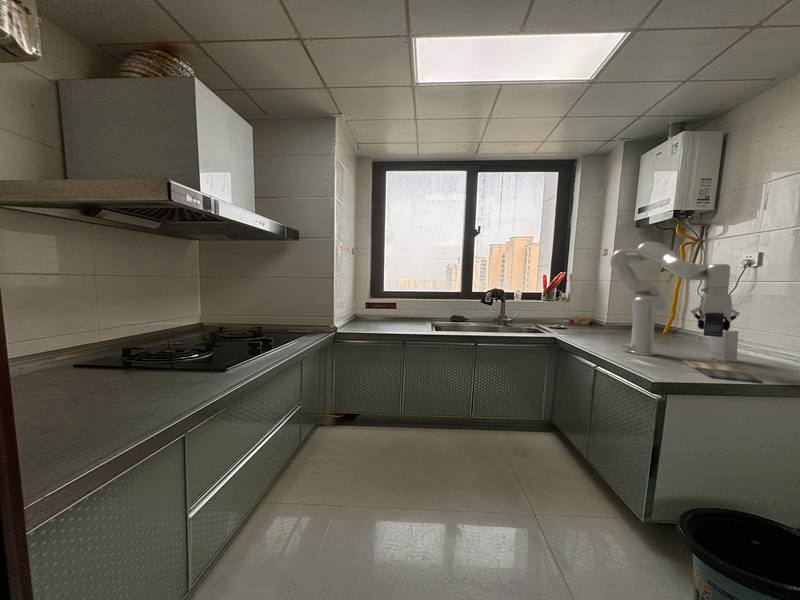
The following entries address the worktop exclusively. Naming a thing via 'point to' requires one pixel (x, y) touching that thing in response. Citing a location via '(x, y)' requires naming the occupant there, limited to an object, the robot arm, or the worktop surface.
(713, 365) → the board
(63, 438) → the worktop surface
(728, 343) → the skincare box
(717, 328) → the small box
